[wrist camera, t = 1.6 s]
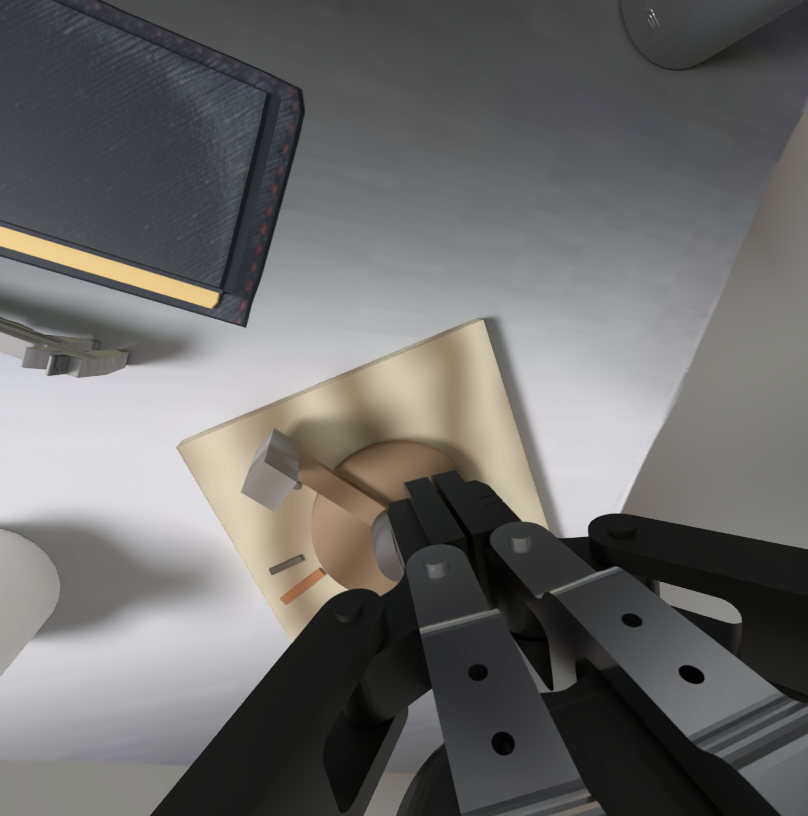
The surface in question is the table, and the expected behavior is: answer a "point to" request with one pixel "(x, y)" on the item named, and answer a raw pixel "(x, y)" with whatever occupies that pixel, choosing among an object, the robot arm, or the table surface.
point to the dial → (347, 501)
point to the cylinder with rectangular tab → (23, 593)
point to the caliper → (58, 352)
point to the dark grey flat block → (139, 156)
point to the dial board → (352, 431)
